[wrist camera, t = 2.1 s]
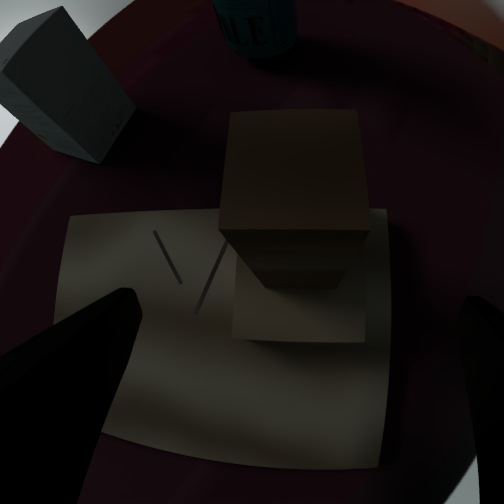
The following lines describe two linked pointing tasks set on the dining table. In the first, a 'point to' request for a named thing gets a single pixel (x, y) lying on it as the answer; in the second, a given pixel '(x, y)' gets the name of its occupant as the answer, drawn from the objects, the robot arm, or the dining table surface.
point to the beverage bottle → (257, 26)
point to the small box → (62, 87)
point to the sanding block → (296, 224)
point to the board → (228, 349)
